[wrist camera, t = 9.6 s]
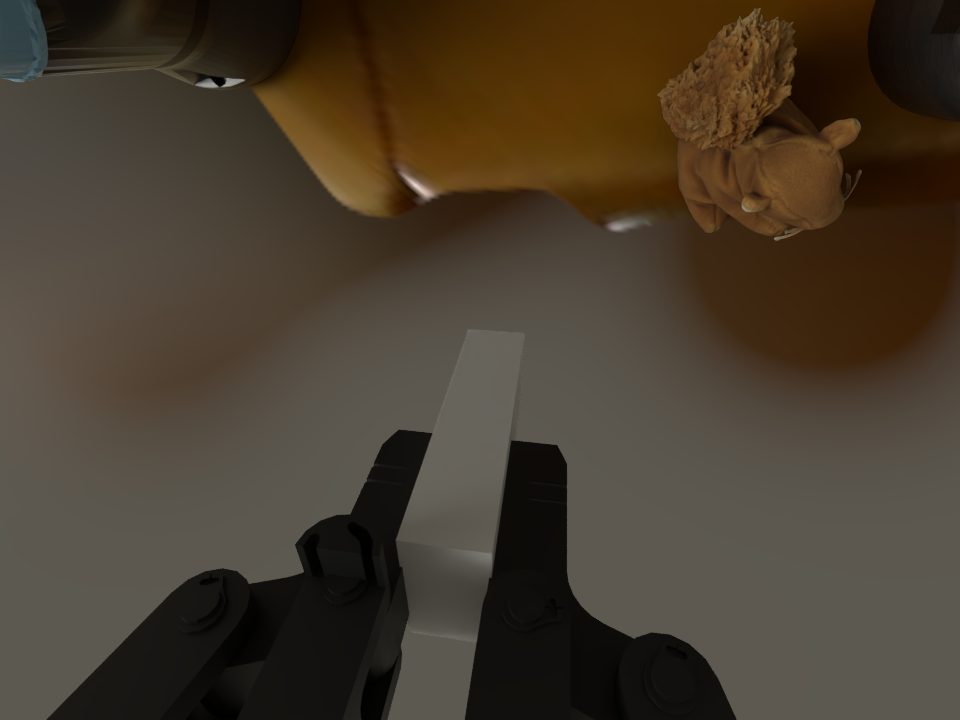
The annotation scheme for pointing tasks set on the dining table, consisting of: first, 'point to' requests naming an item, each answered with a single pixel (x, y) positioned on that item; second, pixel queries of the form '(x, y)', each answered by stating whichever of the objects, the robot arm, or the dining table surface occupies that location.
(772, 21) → the stuffed squirrel
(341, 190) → the dining table surface
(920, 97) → the cooker pot
